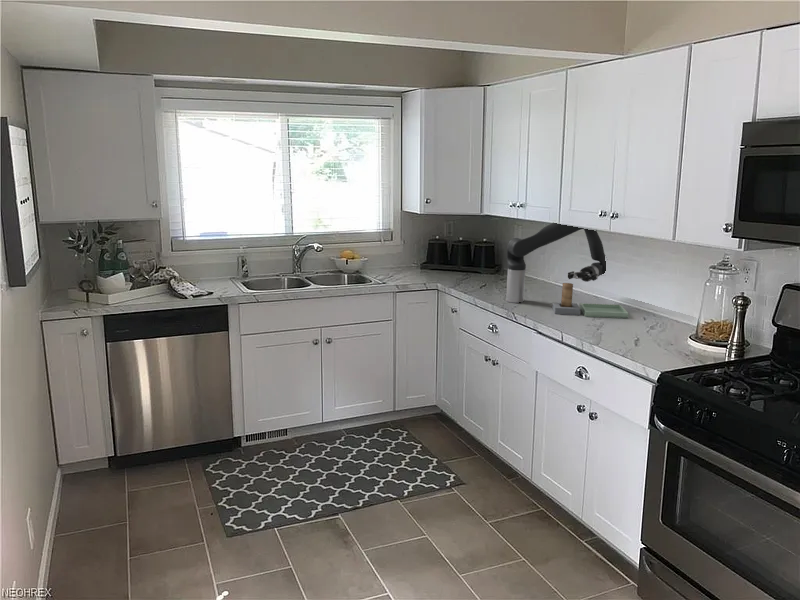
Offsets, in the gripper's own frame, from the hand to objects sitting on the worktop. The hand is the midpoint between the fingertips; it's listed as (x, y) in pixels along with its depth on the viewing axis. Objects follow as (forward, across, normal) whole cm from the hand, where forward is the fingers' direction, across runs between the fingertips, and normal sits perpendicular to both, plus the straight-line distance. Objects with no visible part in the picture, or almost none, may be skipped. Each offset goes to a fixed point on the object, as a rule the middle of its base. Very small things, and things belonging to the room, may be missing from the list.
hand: (577, 278), depth 331 cm
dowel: (+12, 0, +15) cm, 19 cm away
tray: (+3, +15, +15) cm, 22 cm away
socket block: (+12, 0, +15) cm, 19 cm away
